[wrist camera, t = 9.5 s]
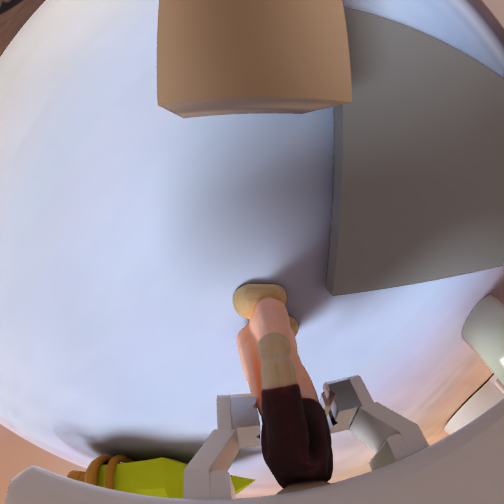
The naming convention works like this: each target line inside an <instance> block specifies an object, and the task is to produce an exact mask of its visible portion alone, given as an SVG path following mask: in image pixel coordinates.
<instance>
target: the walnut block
mask: <svg viewBox="0 0 504 504" xmlns="http://www.w3.org/2000/svg"><path fill="white" fill-rule="evenodd" d="M157 99H158V105H159V106H161V107H163V108H165V109H167V110H169V111H171V112H173V113H175V114H177V115H179V116H181V117H182V118H189V117H199V116H211V115H225V114H248V113H295V114H303V113H307V112H311V111H315V110H319V109H323V108H328V107H332V106H337V105H341V104H346V103H351V102H352V84H351V69H350V57H349V46H348V37H347V28H346V21H345V14H344V7H343V1H342V0H159V10H158V31H157Z"/></svg>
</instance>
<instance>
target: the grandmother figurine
mask: <svg viewBox="0 0 504 504" xmlns="http://www.w3.org/2000/svg"><path fill="white" fill-rule="evenodd" d="M286 302H287V293H286V290H285V289H284V288H283V287H282V286H280V285H276V284H246V285H243V286H241V287H239V288H238V289H237V290H236V291H235V293H234V295H233V305H234V308H235V310H236V312H237V313H238V314H239V315H240V316H242V317H244V318H247V319H249V324H248V325H246V326H245V327H244V328H243V329H242V330H241V331H240V332H239V333H238V335H237V346H238V351H239V356H240V360H241V363H242V368H243V371H244V374H245V377H246V380H247V383H248V386H249V388H250V391H251V393H255V396H256V403H257V408H258V411H259V413H260V415H261V417H262V432H261V446H262V454H263V458H264V460H265V462H266V464H267V466H268V467H269V469H270V470H271V472H272V474H273V475H274V477H275V478H276V480H277V482H278V483H279V485H280V486H281V487H282V488H283V489H282V490H281V491H279V492H278V493H277V494H284V493H290V492H296V491H301V490H306V489H311V488H315V487H319V486H324V485H328V484H330V483H328V482H327V481H329V480H330V479H331V476H332V472H333V453H332V448H331V435H330V429H329V424H328V420H327V416H326V413H325V410H324V409H323V408H322V405H321V404H320V403H319V400H318V397H317V393H316V391H315V388H314V386H313V383H312V381H311V379H310V377H309V375H308V373H307V371H306V369H305V368H304V366H303V365H302V363H301V360H300V358H299V355H298V352H297V343H296V339H295V336H296V334H297V333H298V328H299V326H298V323H297V321H296V320H295V318H293V317H291V316H288V312H287V309H286V306H285V305H286ZM277 494H276V495H277Z"/></svg>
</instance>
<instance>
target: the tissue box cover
mask: <svg viewBox="0 0 504 504" xmlns="http://www.w3.org/2000/svg"><path fill="white" fill-rule="evenodd" d="M44 1H45V0H0V56H1V55H2V53H3V52H4V50H5V49H6V47H7V46H8V45H9V43H10V42H11V41H12V39H13V38H14V37H15V35H16V34H17V33H18V31H19V30H20V29H21V28H22V26H23V25H24V24H25V23H26V21H27V20H28V19H29V18H30V17H31V16H32V14H33V13H34V12H35V11H36V10H37V9H38V8H39V7H40V5H41V4H42V3H43V2H44Z"/></svg>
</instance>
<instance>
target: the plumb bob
mask: <svg viewBox="0 0 504 504" xmlns="http://www.w3.org/2000/svg"><path fill="white" fill-rule="evenodd" d="M120 462H125V463H120ZM187 465H188V464H186V463H183V462H180V461H177V460H174V459H170V458H163V457H162V458H156V459H150V460H144V461H137V462H133V461H132V460H131V459H129V458H128V457H126V456H124V455H116V456H114V457H112V456H110V455H101V456H99V457H97V458H96V459H94V460H93V461H92V462H91V464H90V465H89V467H88V468H87V471H86V472H81V471H71V472H70V473H69V474H68V476H67V477H68V478H71V479H74V480H77V481H81V482H84V483H88V484H92V485H96V486H100V487H104V488H108V489H113V490H118V491H123V492H128V493H134V494H141V495H148V496H156V497H166V498H180V499H183V486H184V469H185V467H186V466H187ZM230 478H231V481H232V484H233V487H234V490H235V495H236V494H237V493H238V492H240V491H241V490H243V489H244V488H245V487H247V486H248V485H249V484H251V483H252V482H253V481H255V480H253V479H247V478H242V477H237V476H232V475H230Z"/></svg>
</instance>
